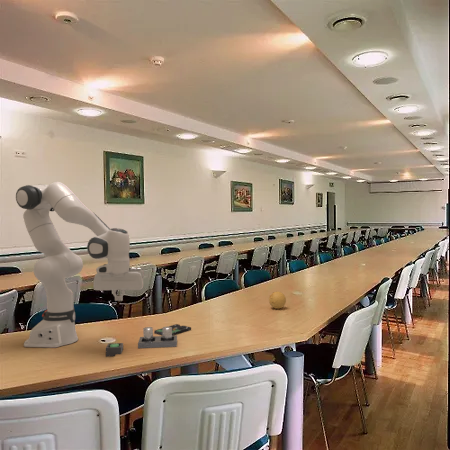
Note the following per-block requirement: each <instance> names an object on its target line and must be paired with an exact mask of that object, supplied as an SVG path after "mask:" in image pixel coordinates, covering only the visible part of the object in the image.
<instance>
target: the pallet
mask: <svg viewBox="0 0 450 450" xmlns="http://www.w3.org/2000/svg"><path fill="white" fill-rule="evenodd" d="M177 347H178V334H177V335H174V336H172V341H163V336H162V335H155V336H154V335H153V341H148V342H144V336H140V337H139V339H138V343H137V349H159V348H160V349H161V348H177Z"/></svg>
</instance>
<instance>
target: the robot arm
mask: <svg viewBox="0 0 450 450" xmlns="http://www.w3.org/2000/svg"><path fill="white" fill-rule="evenodd" d="M15 201H16V203H17V206H18V207H20V208H21V209H24V210H25V211H24V212H23V213H22V214H23V215H22V216H23V222H24V226H25V228H26V231H27V232H28V235H29V237H30V239H31V242H32V243H33V246H34V247H35V249H36V250H37V251H38V252H40V253H42V254H43V255H44V256H45V257H43V258H40V259H38V260H37V261H36V262H35V263H34V266H33V268H32V269H33V270H32V271H33V275H34V277H35V278H36V279H37V280H38V281H39V282H40V283H41V284H42V286H43V288H44V291H45V295H46V308H47V309H46V310H44V312H43V313H42V315H41V317H42V320H41V321H40V322H38V323H37V324H36V325H35V326H34V327H32V328H31V330H30V332H29V336H28V337H29V338H27V339H26V340H25V341H24V343H23V347H24V348H59V347H62V346H66V345H71V344H73V343H75V342H78V340H79V337H78V334H77V331H76V329H77V328H76V323H75V321H76V312H75V310H76V309H75V307H74V292H73V290H72V289H71V288H70V287H68V284H67V282H66V279H67V278H72V277H75V276H77V275H78V274H80V273H81V272H82V271H83V267H84V262H83V259H82V257H81V256H80V255H78V254H76V253H75V252H73V251H72V250H71V249H70V248H69V247H68V246H67V245H66V244H65V243H64V241H63V240H62V239H61V237H60V235H59V233H58V231H57V229H56V228H55V225H54V223H53V222H52V219H51V218H50V212H55V213H56V214H57V216H58V217H59V218H61V219H62V220H64V222H67V223H70V224H75V225H80V226H83V227H85V228H88V229H89V230H91V232H92V233H94V235H95V236H93V237H91V238H90V239H89V241H88V243H87V247H86V249H87V253H88V254H89V255H88V256H90V257H91V258H92V259H96V260H101V259H107V263H105V264H103V265H99V266H98V267H96V270H95V271H96V274H95V275H94V278H93V287H92V288H93V289H94V291H111V293H112V295H113V297H114V301H115V302H122V301H124V300H123V298H124V297H123V296H124V295H125V293H126V291H142V290H143V289H144V277H145V270H144V269H142V268H141V267H131V265H130V264H131V262H130V261H131V260H130V250H131V249H130V247H131V246H130V244H131V243H130V235H129V233H128V231H127V230H125V229H122V228H117V227H114V228H110V227H109V226H108V225H107V224H106V223H105V222H104V221H103V220H102V219H101V218H100V217H99V215H97V214H95V212H93V211H92V210H91V209H90V208H89V207H87V206H86V205H85V204H84V202H82V201H81V199H80V198H79V197H78V196H77V195H76V194H75V193H74V191H72V190H71V188H70V187H68V186H67V185H66V184H65V183H63V182H61V181H53V182H51V183H50V184H46V183H39V184H31V185H29V184H27V185H23V186H21V187H19V188H18V189H17V190H16V194H15ZM117 291H120V292H121V295H117Z"/></svg>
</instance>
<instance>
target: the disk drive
mask: <svg viewBox="0 0 450 450" xmlns="http://www.w3.org/2000/svg"><path fill="white" fill-rule="evenodd" d="M169 327H172V336H176V335H177V336H178V335H180V334H182V333H183V334H184V333H186V332H190V331H192V327H191V326H187V325H180V324H179V323H178V324H177V323H176V324H171V325H169ZM154 334H155V335H157V336H163V327H161V328H157V329H155V330H153V335H154Z"/></svg>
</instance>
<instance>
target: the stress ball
mask: <svg viewBox="0 0 450 450" xmlns="http://www.w3.org/2000/svg"><path fill="white" fill-rule="evenodd" d="M268 302H269V306H271V307H272V308H274V309H275V310H280V309H282V308H283V307H284V306H285V305H286V303H287V297H286V295H285V294H284V293H283V292H281V291H274V292H272V293H271V294H270V295H269V298H268Z"/></svg>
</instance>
